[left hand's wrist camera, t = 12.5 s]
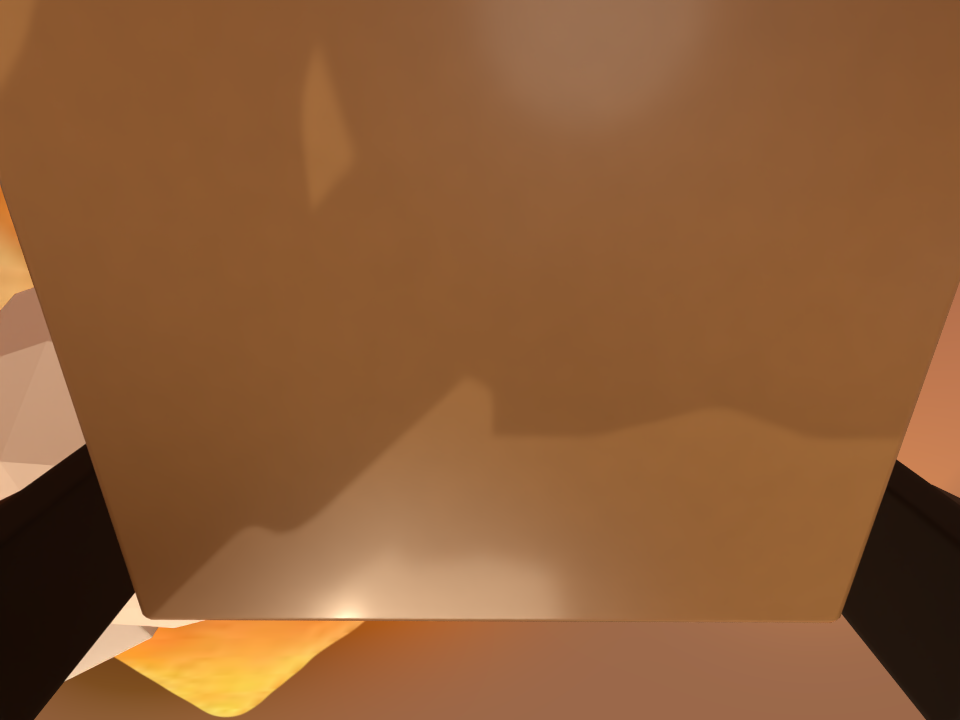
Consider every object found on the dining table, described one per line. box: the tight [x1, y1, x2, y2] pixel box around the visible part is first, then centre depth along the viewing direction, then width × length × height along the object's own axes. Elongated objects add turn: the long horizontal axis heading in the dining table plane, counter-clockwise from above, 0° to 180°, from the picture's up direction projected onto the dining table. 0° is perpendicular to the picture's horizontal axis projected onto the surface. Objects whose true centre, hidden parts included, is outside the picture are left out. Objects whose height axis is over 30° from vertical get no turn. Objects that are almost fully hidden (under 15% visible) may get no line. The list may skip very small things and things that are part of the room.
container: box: [0, 288, 204, 628], centre depth 34 cm, size 21×21×28 cm
